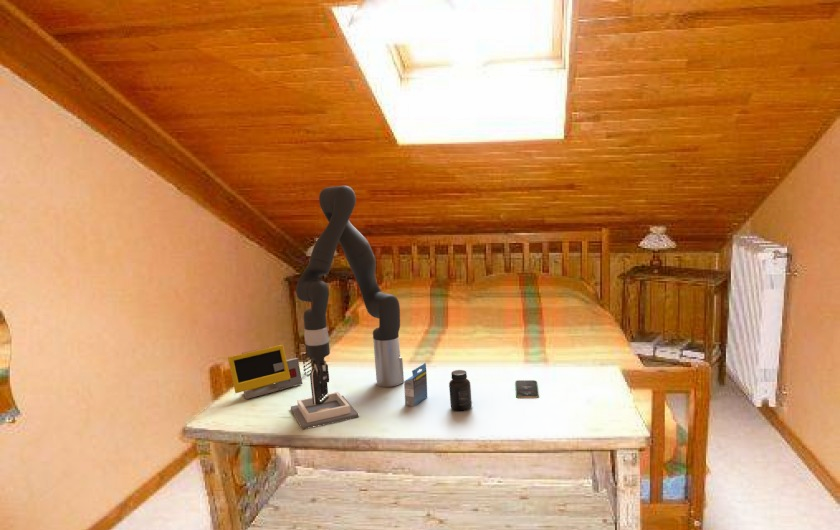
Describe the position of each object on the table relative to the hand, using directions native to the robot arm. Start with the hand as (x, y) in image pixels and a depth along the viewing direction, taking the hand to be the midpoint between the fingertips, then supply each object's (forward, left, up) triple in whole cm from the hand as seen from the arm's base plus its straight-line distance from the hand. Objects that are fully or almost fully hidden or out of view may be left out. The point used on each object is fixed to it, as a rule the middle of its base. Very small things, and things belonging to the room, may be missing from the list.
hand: (321, 390), depth 199 cm
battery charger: (0, 0, -4) cm, 4 cm away
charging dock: (0, 0, -8) cm, 8 cm away
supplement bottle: (-40, +20, -8) cm, 46 cm away
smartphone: (-66, +18, -8) cm, 69 cm away
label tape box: (-30, +7, -8) cm, 32 cm away
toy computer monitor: (+15, -30, -8) cm, 35 cm away
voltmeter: (0, -36, -8) cm, 37 cm away
